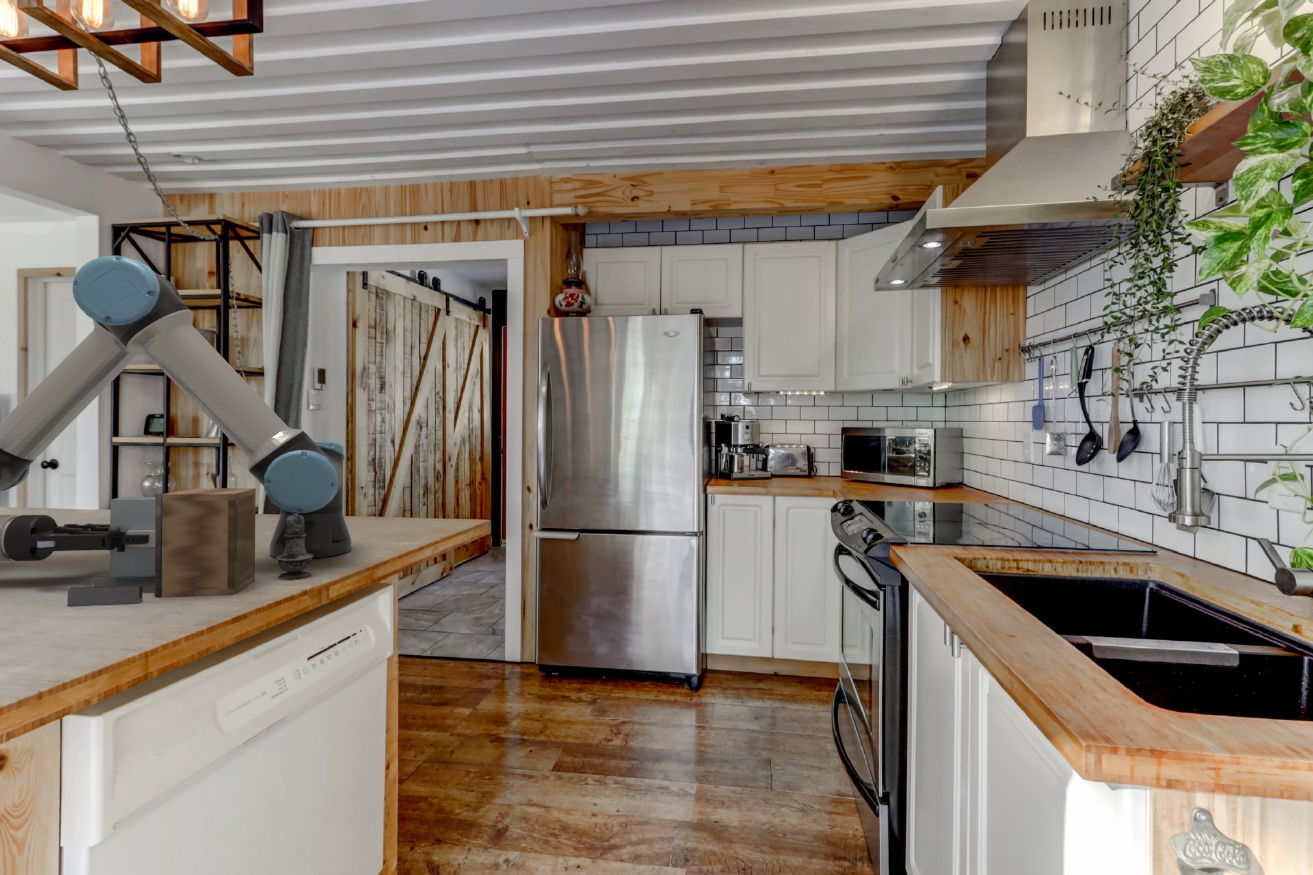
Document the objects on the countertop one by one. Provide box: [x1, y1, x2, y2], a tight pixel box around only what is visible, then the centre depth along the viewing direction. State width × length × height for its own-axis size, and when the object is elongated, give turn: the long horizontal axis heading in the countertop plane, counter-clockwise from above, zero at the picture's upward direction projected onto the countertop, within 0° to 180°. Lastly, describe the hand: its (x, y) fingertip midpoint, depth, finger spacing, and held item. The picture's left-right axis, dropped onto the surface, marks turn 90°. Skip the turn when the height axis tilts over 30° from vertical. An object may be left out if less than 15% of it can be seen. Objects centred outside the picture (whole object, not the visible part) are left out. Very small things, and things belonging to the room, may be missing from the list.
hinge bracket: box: [66, 575, 155, 607], centre depth 99 cm, size 9×8×2 cm
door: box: [108, 496, 155, 577], centre depth 110 cm, size 8×5×14 cm, turn 104°
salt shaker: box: [275, 509, 314, 581], centre depth 115 cm, size 6×6×12 cm
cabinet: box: [154, 487, 257, 598], centre depth 106 cm, size 11×9×16 cm
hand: (180, 535), depth 112 cm, fingers open, 4 cm apart
